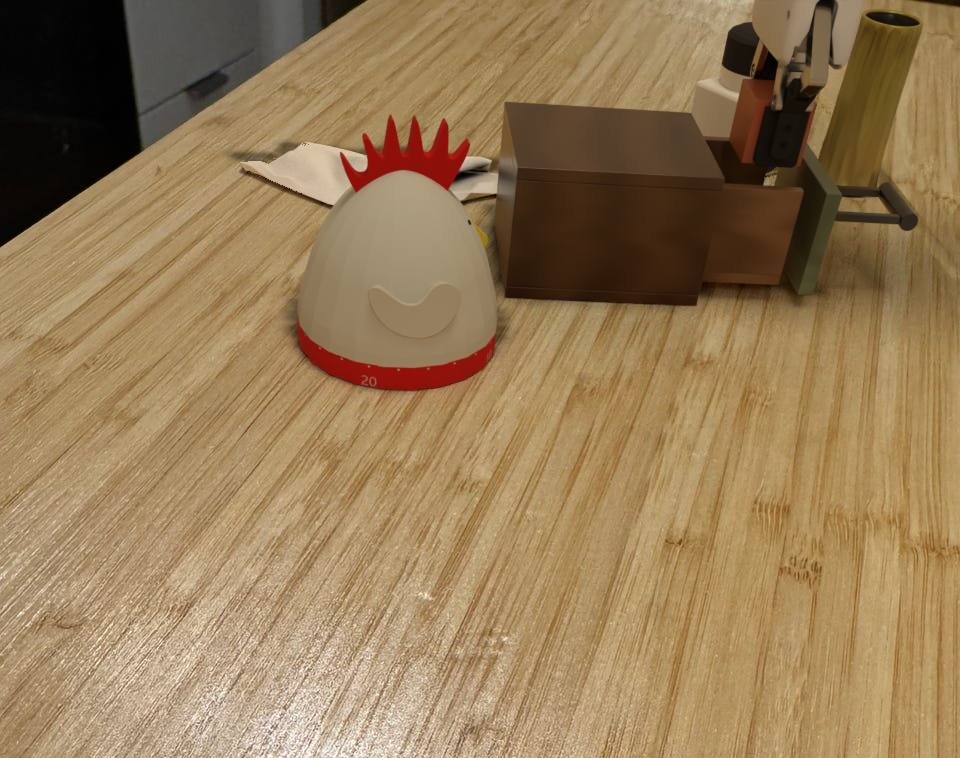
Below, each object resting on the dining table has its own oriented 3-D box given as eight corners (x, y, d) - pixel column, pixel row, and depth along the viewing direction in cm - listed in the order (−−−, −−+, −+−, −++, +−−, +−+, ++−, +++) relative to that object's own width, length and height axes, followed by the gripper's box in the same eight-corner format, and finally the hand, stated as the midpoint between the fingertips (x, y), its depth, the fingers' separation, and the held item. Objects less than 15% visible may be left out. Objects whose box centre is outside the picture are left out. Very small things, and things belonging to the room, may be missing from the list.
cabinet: (667, 232, 96) (691, 112, 90) (696, 306, 87) (725, 178, 80) (494, 224, 95) (504, 101, 88) (504, 297, 86) (517, 167, 79)
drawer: (864, 234, 97) (894, 139, 91) (908, 300, 88) (944, 200, 83) (617, 222, 95) (633, 124, 89) (639, 288, 87) (658, 184, 81)
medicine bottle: (736, 186, 105) (769, 45, 96) (680, 159, 108) (706, 21, 100) (785, 171, 108) (821, 34, 100) (729, 145, 112) (759, 11, 104)
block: (785, 143, 88) (801, 82, 84) (800, 167, 84) (817, 103, 81) (728, 140, 87) (742, 78, 84) (741, 163, 84) (756, 99, 81)
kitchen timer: (514, 385, 77) (538, 161, 66) (308, 394, 74) (301, 162, 64) (473, 288, 87) (489, 79, 76) (290, 292, 84) (281, 76, 73)
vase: (883, 182, 108) (936, 17, 98) (865, 203, 104) (918, 33, 94) (822, 165, 110) (868, 2, 100) (802, 185, 106) (847, 17, 96)
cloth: (213, 195, 95) (211, 168, 93) (264, 136, 105) (262, 111, 103) (521, 241, 93) (523, 213, 91) (543, 177, 103) (545, 151, 101)
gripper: (938, -103, 67) (845, 201, 80) (855, -158, 79) (785, 113, 92) (815, -113, 67) (741, 195, 79) (750, -167, 79) (694, 107, 91)
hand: (765, 148), depth 85 cm, fingers closed on block, 4 cm apart
